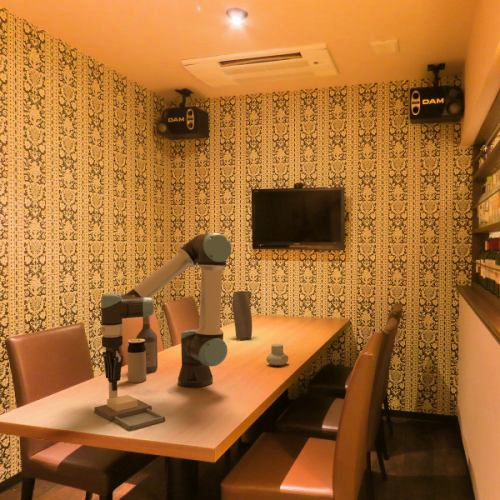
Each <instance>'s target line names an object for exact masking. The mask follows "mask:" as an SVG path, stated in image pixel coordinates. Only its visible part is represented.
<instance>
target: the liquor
mask: <svg viewBox="0 0 500 500" xmlns="http://www.w3.org/2000/svg"><path fill="white" fill-rule="evenodd" d="M150 317H151V316H147V317H142V327H141V330H140V331H139V332H138V334H137V335H136V337H135V339H144V340H145V341H144V345H145V347H146V374H148V373H149V374H151V373H155V372H156V371H157V369H158V368H159V366H158V364H159V363H158V335H157V333H156V332H155V331H154V330H153V328H151V323H150V319H151V318H150Z"/></svg>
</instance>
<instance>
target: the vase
mask: <svg viewBox="0 0 500 500" xmlns="http://www.w3.org/2000/svg"><path fill="white" fill-rule="evenodd" d="M251 297H252V291H250V290H246V291H245V290H244V291H243V290H238V291H233V293H232V315H233V319H234V320H233V321H234V322H233V323H234V328H235V329H234V330H235V338H236V340H238V341H245V340H248V339H251V337H252V335H253V317H252V311H251V310H252V309H251Z"/></svg>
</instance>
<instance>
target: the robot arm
mask: <svg viewBox="0 0 500 500" xmlns="http://www.w3.org/2000/svg"><path fill="white" fill-rule="evenodd" d="M231 254H232V244H231V242H230V239H228V237H227V236H225V235H224V234H222V233H220V232H219V233H217V232H210V233H200V234H198V235H196V236H193V238H191V239H190V240H188V242H186V243H185V244H184V245H182V246H181V247H180V248H179V249H177V253H176V254H175V255H174V256H172V257H171V258H170V259H169V260H167V261H166V262H165V263H163V264H162V265H161V266H159V267H158V268H157V269H156V270H155V271H154V272H152V273H151V274H149V276H147V277H145V278H144V280H142V281H141V282H140V283H138V284H137V285H136V286H134V287H133V288H132V289H131V290H130V291H128V292H127V293H123V294H121V293H106V294H103V295H101V298H100V316H101V322H100V323H101V327H100V331H101V335H102V336H101V346H102V347H103V348H105V351H103V352H102V358H103V365H104V373H105V379H107V381H108V399H111V398H115V397H119V394H118V382H119V381H121V376H122V364H123V359H124V356H123V355H120V347H122V346H123V344H124V343H123V341H124V339H123V329H124V328H123V320H124V319H134V318H143V317H147V316H150V317H151V316H152V315H153V314H154V311H155V304H154V301H153V298H152V297H154V296H155V295H156V294H157V293H159V292H160V291H161V290H163V288H165V287H166V286H167V285H169V284H170V283H171V282H172V281H174V280H175V279H176V278H177V277H178V276H180V275H181V274H182V273H183V272H185V271H186V270H187V269H188V268H193V267H195V265H198V267H199V269H200V273H201V275H200V276H201V277H200V296H199V297H200V300H199V302H200V303H199V320H198V321H199V322H198V323H199V325H198V328H196V329H189V330H183V331H182V332H181V334H180V345H181V346H180V348H181V350H180V351H181V353H180V354H181V367H180V369H179V370H180V371H179V373H178V377H177V385H179V386H180V387H181V386H182V387H185V388H186V387H187V388H199V387H207V386H209V385H212V384H213V382H214V379H213V378H214V376H213V374H212V370H211V368H210V367H216V366H219V365H220V364H221V363H223V362H224V360H226V357H227V355H228V345H227V344H226V342H225V341H224V331H223V330H222V329H221V306H222V283H223V270H224V269H225V268H227V260H228V259H229V257H230V256H231Z"/></svg>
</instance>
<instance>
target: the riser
mask: <svg viewBox="0 0 500 500" xmlns="http://www.w3.org/2000/svg"><path fill="white" fill-rule="evenodd" d="M134 398H135V397H134ZM135 399H137V398H135ZM137 400H138V407H133V408H129V409H125V410H121V411H115V410H113V409H111V408H110V407H108V406H107V404H103V405H98V406H95V407H93V410H94V411H93V412H94V414H96V415H97V416H99V417H101V418H102V419H104V420H105V421H107V422H109V423H112V422H115V421H114V417H115V416H117V417H118V418H124V417H128V416H132V415H136V414H140V413H144V412H146V409H150V410H152V411H153V409H152V408H153V407H152V405H151V404H148V403H146V402H144V401H142V400H140V399H137Z"/></svg>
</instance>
